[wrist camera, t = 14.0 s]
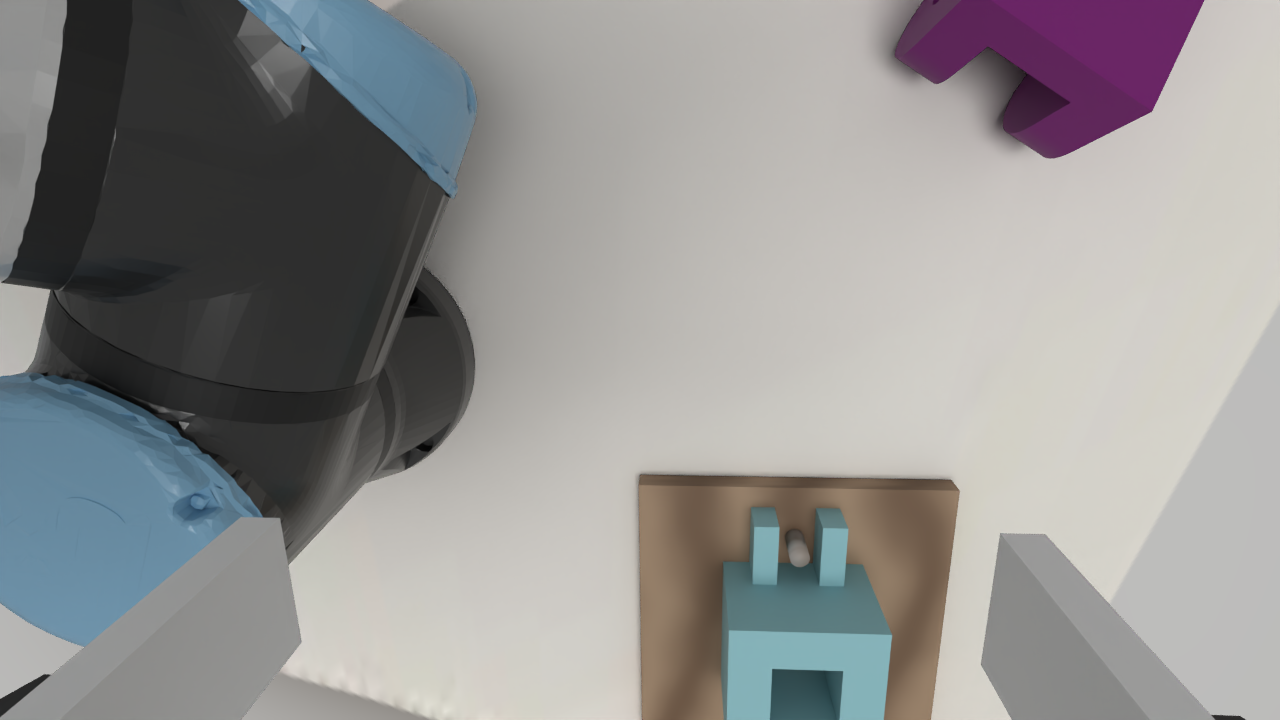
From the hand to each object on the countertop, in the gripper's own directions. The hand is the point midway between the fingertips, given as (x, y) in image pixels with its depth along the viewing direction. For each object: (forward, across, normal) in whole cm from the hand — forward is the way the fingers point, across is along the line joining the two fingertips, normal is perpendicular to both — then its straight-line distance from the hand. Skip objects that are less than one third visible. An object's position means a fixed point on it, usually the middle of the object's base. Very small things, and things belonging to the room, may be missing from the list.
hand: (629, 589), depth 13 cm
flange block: (+30, +8, -23) cm, 39 cm away
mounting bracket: (+32, +20, +17) cm, 42 cm away
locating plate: (+32, +8, -23) cm, 40 cm away
